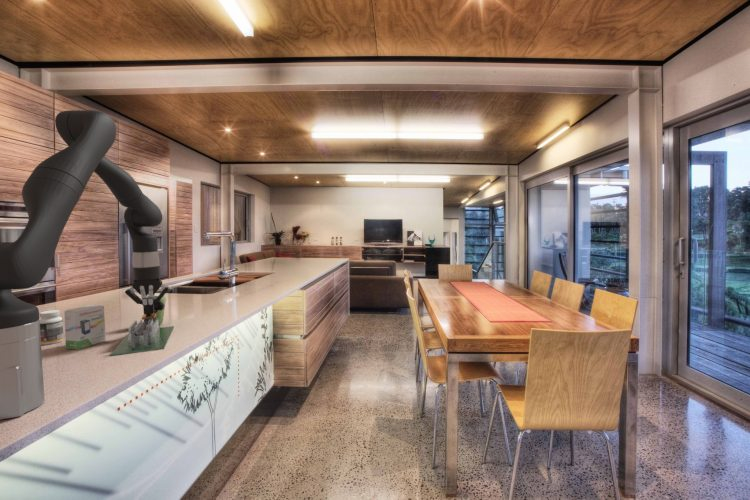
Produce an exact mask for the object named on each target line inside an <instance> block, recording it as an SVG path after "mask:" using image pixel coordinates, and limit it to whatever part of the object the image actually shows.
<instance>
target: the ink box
mask: <svg viewBox="0 0 750 500" xmlns="http://www.w3.org/2000/svg"><path fill="white" fill-rule="evenodd" d="M63 315H64V331H65V332H64V333H65V335H64V337H65V349H66V350H67V349H69V350H70V349H71V350H77V351H78V350H82V349H85V348H87V347H90V346H93V345H97V344H100V343H102V342H105V341H106V338H107V337H106V323H105V306H104V305H100V304H99V305H97V304H89V305H83V306H79V307H73V308H70V309H69V308H68V309H65V310H64V314H63Z"/></svg>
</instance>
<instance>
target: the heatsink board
mask: <svg viewBox="0 0 750 500" xmlns="http://www.w3.org/2000/svg"><path fill="white" fill-rule="evenodd" d="M142 323H143V320H142V319H140V320H139V321H137V320H134V321H133V322H132V323H131V324H130V325H129V326H128V327H127V328H128V334H127V335H126V336H125V337H124V338H123V339H122V340H121V342H120V343H119V344H117V346H116V347H115V348H114V350H113V351H112V352H111V353H110V356H111V357H112V356H119V355H126V354H134V353H135V354H136V353H141V352H142V353H144V352H150V351H158V350H164V349H165V348H166V347H167V346H166V345H167V343H168V340H169V339H170V336H171V334H172V333H173V331H174V328H175V326H174V325H172V326H162V327H161V325H159V322H158V318H157V319H156V316H155V318H154V319H150V321H149V323H148V324H147V325H146V329H145V330H144V331H143V335H142V336H135V333H137V332H138V330H139V328H140V327H141V325H142Z"/></svg>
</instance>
